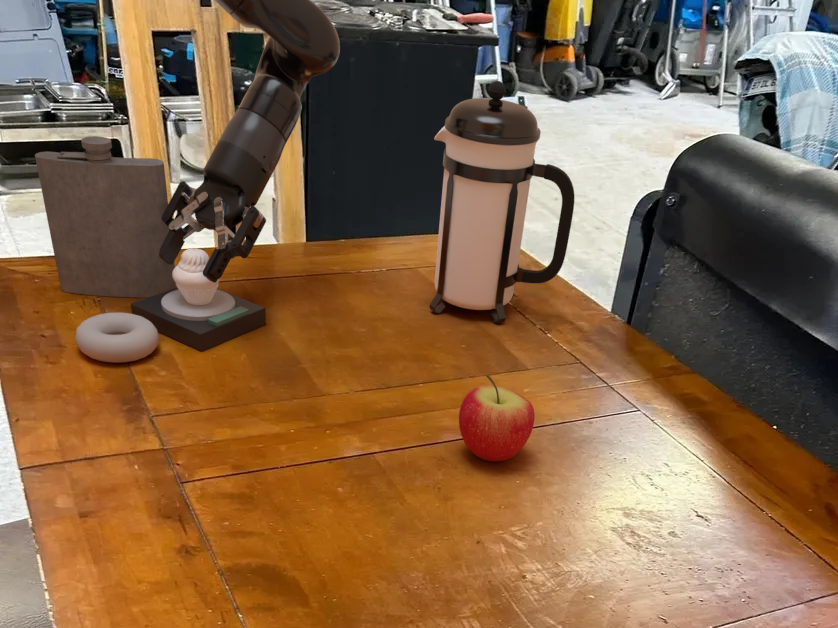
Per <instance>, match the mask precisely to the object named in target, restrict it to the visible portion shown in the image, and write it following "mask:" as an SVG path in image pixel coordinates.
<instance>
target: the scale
mask: <svg viewBox="0 0 838 628" xmlns="http://www.w3.org/2000/svg"><path fill="white" fill-rule="evenodd" d="M130 311H131V314H135V315H138V316H142V317H144V318H145V319H147V320H149V321H150V322H151V323H152V324H153V325H154V326H155V328H156V329H157V331H158V334H161V335H163V336H166V337H168V338H170V339H173V340H175V341H177V342H179V343H182V344H183V345H187V346H188V347H191V348H192V349H195V350H198V351H199V352H205V351H206V350H208V349H211V348H214V347H216V346H218V345H221V344H223V343H226V342H228V341H230V340H232V339H235V338H237V337H239V336H242V335H244V334H247V333H248V332H249V333H250V332H251V331H254V330H257V329H258V328H260V327H264V326H267V315H266V307H264V306H263V305H259V304H257V303H254V302H252V301H250V300H248V299H244V298H242V297H240V296H237V295H234V294H232V293H230V292H228V291H225V290H223V289H221V288H219V287H218V288H217V290H216V292H215V294H214V296H213V298H212V301H211V302H210V303H209V304H206V305H193V304H189V303H188V302H187V301H186V300H185V298H184V297H183V295H182V294H181V292H180V291H179V289H178V287H177V288H174V289H171V290H168V291H165V292H163V293H160V294H157V295H154V296H151V297H148V298H143V299H140V300H137V301H134V302H132V303H130Z"/></svg>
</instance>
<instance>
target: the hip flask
mask: <svg viewBox="0 0 838 628" xmlns="http://www.w3.org/2000/svg"><path fill="white" fill-rule="evenodd" d="M80 142H81V147H82V148H83V149H84V151H83V152H82V151H81V152H80V151H60V152H58V151H57V152H56V151H40V152H37V153H35V154H34V158H35V163H36V168H37V173H38V178H39V184H40V189H41V193H42V198H43V205H44V209H45V214H46V220H47V224H48V229H49V234H50V239H51V244H52V249H53V255H54V261H55V266H56V271H57V277H58V281H59V286H60V290H61V291H62V292H64V293H68V294H73V295H74V294H75V295H83V296H97V297H110V298H111V297H112V298H133V299H134V298H138V299H139V298H143V299H145V298H148V297H151V296H154V295H157V294H160V293H163V292H165V291H168V290H171V289H174V288H177V286H176V282H175V281H174V279H173V277H172V272H173V270H174V268H175V267H176V263H175V261H174V263H173V264H172V265H170V264H168V263H166V262H165V261H163V260H162V259H161V258H160V257H159V253H160V252H159V251H160V247H161V246H162V244H163V242H164V240H165V238H166V236H167V234H168V232H169V227H168V226H167V225H166V224H165V223H164V222H163V221H162V219H161V218H162V215H163V213H164V211H165V210H166V208H167V206H168V204H169V198H168V190H167V189H168V187H167V180H166V170H165V162H164V160H161V159H158V158H150V157H149V158H144V157H141V158H140V157H138V158H137V157H112V152H111V149H112V148H113V144H112V140H111V139H110V138H108V137H106V136H105V137H104V136H96V135H95V136H85V137H83V138H81V139H80Z"/></svg>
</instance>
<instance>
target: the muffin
mask: <svg viewBox="0 0 838 628" xmlns="http://www.w3.org/2000/svg"><path fill="white" fill-rule="evenodd" d="M209 258H210V256H209V254H208V253H207V252H206V251H205V250H203V249H201V248H195V247H193V248H188V249H185V250H184V251H182V252H181V254H180V260H179V262H178V263H177V265H175V268H174V270H173V272H172V277H173V279H174V281H175V282H176V286H177V287H178V289H179V291H180V292H181V294H182V295H183V297H184V298H185V300H186V301H187V302H188V303H189V304H193V305H206V304H209V303H210V302H211V301H212V298H213V296H214V294H215V292H216V290H217V288H218V289H219V285H220V284H219V282H220V280H221V277H220V278H219V279H218V280H217V281H216V282H215V283H214V282H211V281H209V280H208V279H207V278H206V277H205V276H204V275H203V270H204V268H205V266H206V264H207V262H208V260H209Z"/></svg>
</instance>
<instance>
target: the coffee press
mask: <svg viewBox="0 0 838 628" xmlns="http://www.w3.org/2000/svg"><path fill="white" fill-rule="evenodd" d="M487 91H488V94H489V97H488V98H487V97H477V98H468V99H465V100H463V101H459V102H458V103H457V104H455V106H453V108H452V109H451V111H450V113H449V116H447V117H446V118H445V120H444V126H443V127H441V129H440V130H439V131H438V132H437V133H436V135H435V136H434V137H433V140H434V141H438V142H443V143H445V148H444V150H443V158H442V159H443V160H442V166H443V179H442V189H441V190H442V191H441V192H442V193H441V200H440V202H441V203H440V212H439V224H438V225H439V226H438V234H437V235H438V237H437V248H436V250H437V251H436V261H435V271H434V272H435V273H434V289H435V292H436V293H435V296H434V297H433V298H432V300H431V302H430V303H429V310H430V311H431V312H433V313H435V314H436V315H440V314H442V312H443V311H444V310H445V309H446V308H448V306H450V305H453V306H455V307H459V308H462V309H465V310H466V309H467V310H474V311H487V312H489V314H490V317H491V320H492V322H493V324H495V325H498V324H503V323H505V322H506V320H507V317H506V313H505V308H504V306H505V305H507V304H508V303H509V302H510V301H511V300H513V299H514V297H515V286H516V284H517V283H525V284H543V283H547V282H550V280H552V279H555V277H556V276H557V275H558V274H559V273H560V271H561V269H562V267H563V264H564V261H565V258H566V254H567V249H568V245H569V238H570V234H571V228H572V223H573V216H574V209H575V190H574V185H573V182H572V180H571V178H570V176H569V175H568V174H567V173H566V172H565V171H564V170H563V169H561V168H560V167H559V166H556V165H553V164H549V163H547V164H541V163H536V160H535V154H536V153H535V152H536V146H537V143H538V142H539V140H540V138H541V133H542V132H541V129H540V128H539V125H538V120H537V118H536V116H535V115H534V113H533V112H532V111H530V109H528V108H527V107H526V106H523V105H521V104H519V103H516V102H513V101H509V100H505V99H503V98H504V97H505V95H506V93H507V90H506V85H505V84H504V83H503V82H502V81H501V80H495V81H492V83H491V84H490V85H489V87H488V89H487ZM533 177H537V178H541V179H542V178H543V179H544V180H547V181H550V182H552V183H554V184H555V185H556V186H557V188H558V189H559V192H560V195H561V207H560V214H559V220H558V225H557V232H556V237H555V243H554V249H553V255H552V259H551V261H550V263H549V264H547V266H546V267H545V268H543V269H540V270H535V269H534V270H533V269H527V268H526V269H525V268H523V267H520V265H519V261H520V254H521V247H522V240H523V234H524V227H525V222H526V221H525V220H526V213H527V207H528V206H527V205H528V200H529V192H530V186H531V179H532V178H533ZM442 300H443V301H442ZM441 301H442V302H441Z"/></svg>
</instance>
